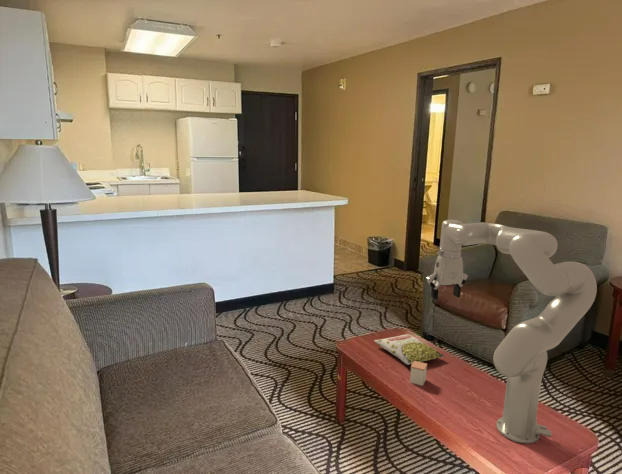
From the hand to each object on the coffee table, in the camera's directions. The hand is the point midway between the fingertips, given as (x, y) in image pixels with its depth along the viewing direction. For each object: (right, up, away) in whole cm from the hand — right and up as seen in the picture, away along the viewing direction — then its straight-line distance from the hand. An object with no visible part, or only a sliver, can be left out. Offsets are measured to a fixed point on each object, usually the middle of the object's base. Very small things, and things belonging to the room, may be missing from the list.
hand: (445, 297), depth 159 cm
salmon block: (-9, -34, +7) cm, 36 cm away
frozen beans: (-7, -30, +30) cm, 43 cm away
